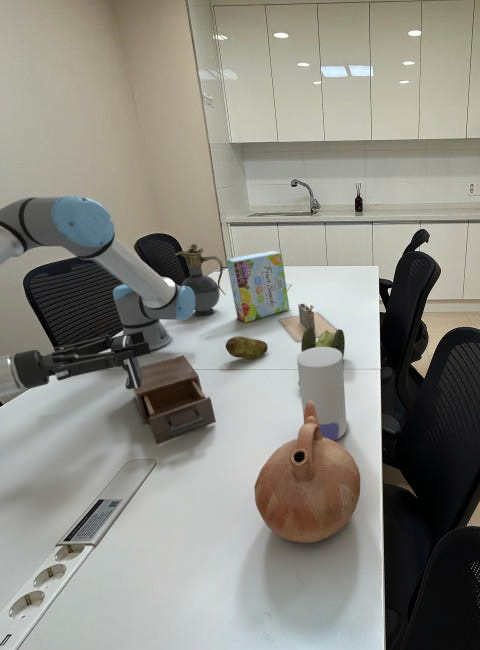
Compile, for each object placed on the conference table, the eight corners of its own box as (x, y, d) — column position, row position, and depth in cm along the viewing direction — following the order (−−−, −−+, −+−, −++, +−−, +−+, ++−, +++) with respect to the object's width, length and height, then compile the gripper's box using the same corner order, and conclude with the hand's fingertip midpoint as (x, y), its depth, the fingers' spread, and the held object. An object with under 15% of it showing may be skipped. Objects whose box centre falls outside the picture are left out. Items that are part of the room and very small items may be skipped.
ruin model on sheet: (338, 332, 148) (336, 308, 144) (296, 341, 141) (294, 316, 137) (316, 313, 168) (314, 291, 165) (279, 319, 162) (276, 297, 158)
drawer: (222, 431, 92) (216, 407, 90) (160, 455, 85) (153, 430, 82) (199, 397, 107) (194, 375, 104) (145, 415, 99) (138, 392, 96)
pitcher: (184, 312, 173) (168, 244, 161) (228, 304, 181) (216, 240, 169) (186, 319, 164) (169, 249, 152) (232, 311, 172) (220, 243, 160)
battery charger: (125, 379, 94) (111, 335, 89) (142, 375, 95) (130, 332, 90) (122, 392, 88) (107, 347, 83) (141, 388, 89) (127, 343, 85)
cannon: (325, 393, 109) (322, 357, 104) (285, 389, 111) (280, 354, 106) (347, 353, 131) (346, 322, 126) (314, 351, 133) (311, 320, 129)
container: (352, 421, 96) (349, 349, 88) (336, 446, 88) (330, 369, 80) (316, 414, 99) (309, 343, 91) (297, 438, 91) (288, 362, 83)
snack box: (280, 305, 178) (273, 249, 168) (290, 310, 173) (283, 252, 162) (235, 318, 165) (224, 258, 155) (244, 323, 159) (234, 261, 149)
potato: (268, 360, 128) (264, 338, 124) (227, 365, 125) (222, 343, 122) (268, 350, 135) (265, 329, 132) (230, 354, 133) (226, 333, 130)
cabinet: (204, 402, 106) (198, 375, 102) (145, 423, 98) (136, 394, 94) (189, 380, 117) (183, 355, 114) (135, 397, 109) (127, 370, 106)
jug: (276, 477, 79) (263, 394, 71) (364, 477, 79) (360, 394, 71) (247, 561, 63) (225, 465, 55) (358, 562, 62) (353, 465, 54)
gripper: (28, 370, 87) (143, 342, 99) (23, 410, 72) (158, 371, 84) (15, 339, 84) (135, 315, 96) (6, 375, 69) (149, 340, 81)
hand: (146, 341), depth 90 cm, fingers closed on battery charger, 7 cm apart
